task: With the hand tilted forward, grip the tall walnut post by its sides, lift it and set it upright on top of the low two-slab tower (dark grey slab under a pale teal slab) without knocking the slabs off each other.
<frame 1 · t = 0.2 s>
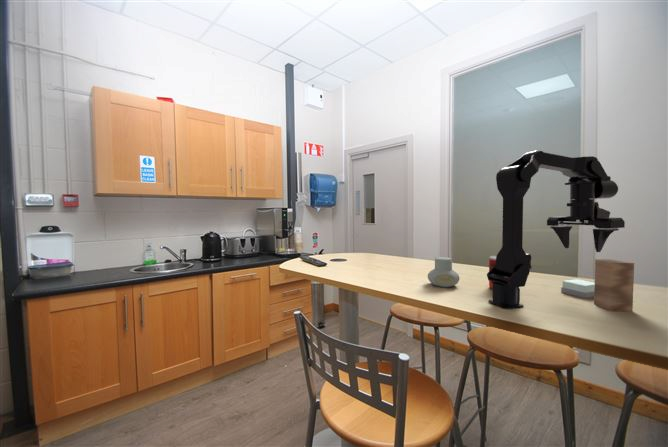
hand: (581, 250, 89), 15 cm above the table, tool pointing down, fingers open, 9 cm apart
walnut post: (612, 307, 80), on the table
tower base: (580, 295, 93), on the table, touching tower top
canned food: (501, 289, 100), on the table
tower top: (580, 289, 93), point 2 cm above the table, touching tower base
air freshener: (443, 285, 106), on the table
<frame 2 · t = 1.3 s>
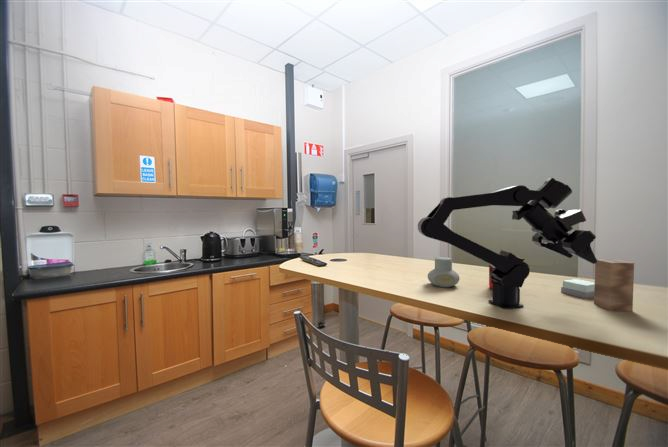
hand: (582, 259, 81), 13 cm above the table, tool tilted 45°, fingers open, 9 cm apart
nothing on the table moved.
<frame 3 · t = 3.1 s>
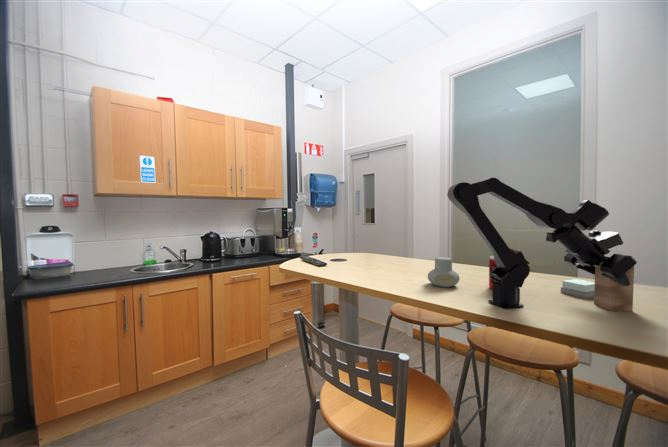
hand: (619, 282, 80), 7 cm above the table, tool tilted 45°, fingers closed on walnut post, 5 cm apart
walnut post: (612, 307, 80), on the table, touching gripper
everything else where it was.
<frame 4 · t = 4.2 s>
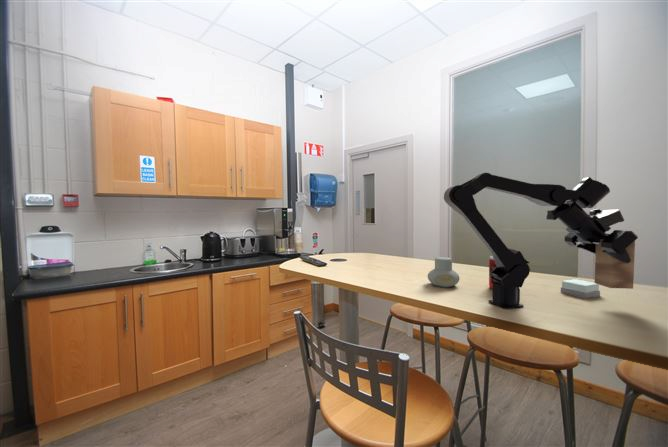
hand: (619, 260, 80), 13 cm above the table, tool tilted 45°, fingers closed on walnut post, 5 cm apart
walnut post: (613, 285, 80), point 6 cm above the table, touching gripper
tower base: (579, 295, 93), on the table
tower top: (579, 289, 93), point 2 cm above the table
everything else where it was.
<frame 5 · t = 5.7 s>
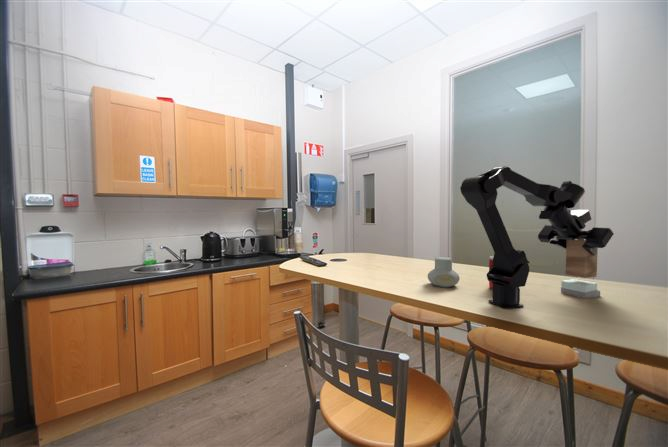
hand: (584, 253, 93), 13 cm above the table, tool tilted 45°, fingers closed on walnut post, 5 cm apart
walnut post: (580, 275, 93), point 6 cm above the table, touching gripper
everything else where it was.
when the fingers open (12 cm above the table, at t = 6.3 s): walnut post drops 1 cm, resting on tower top.
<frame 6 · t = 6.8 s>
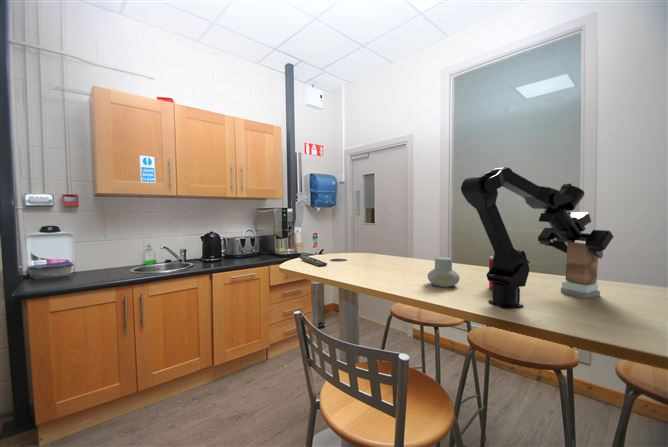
hand: (584, 255, 93), 12 cm above the table, tool tilted 45°, fingers open, 9 cm apart
walnut post: (580, 281, 93), point 4 cm above the table, touching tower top
tower base: (579, 295, 93), on the table, touching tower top
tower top: (579, 289, 93), point 2 cm above the table, touching tower base, walnut post
everything else where it was.
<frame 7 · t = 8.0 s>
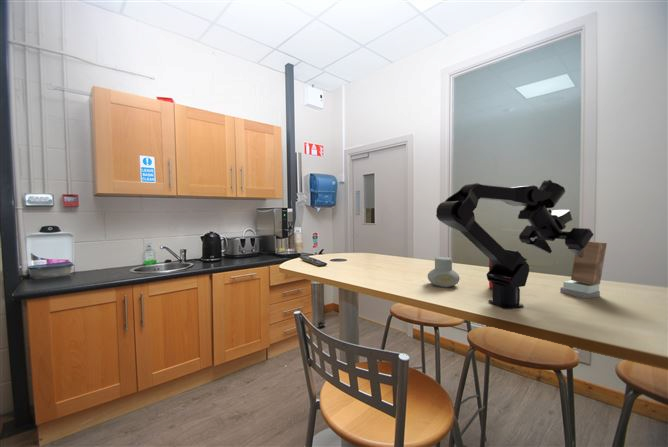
hand: (565, 254, 90), 13 cm above the table, tool tilted 45°, fingers open, 9 cm apart
walnut post: (585, 282, 92), point 4 cm above the table, tilted 6°
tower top: (580, 289, 93), point 2 cm above the table, touching tower base
everything else where it was.
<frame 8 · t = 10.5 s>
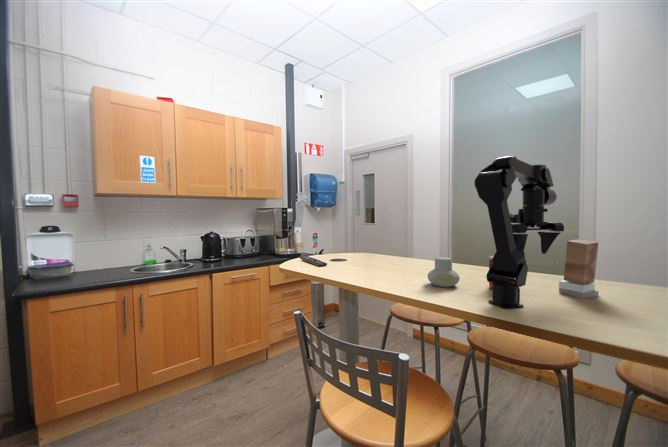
hand: (532, 254, 93), 13 cm above the table, tool pointing down, fingers open, 9 cm apart
walnut post: (578, 281, 93), point 4 cm above the table, tilted 6°
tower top: (576, 288, 94), point 2 cm above the table, touching tower base
everything else where it was.
at the end: walnut post inside the target area (0.7 cm from its centre), point 3.8 cm above the table; walnut post tilted 2°; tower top moved 1.2 cm from its start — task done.
